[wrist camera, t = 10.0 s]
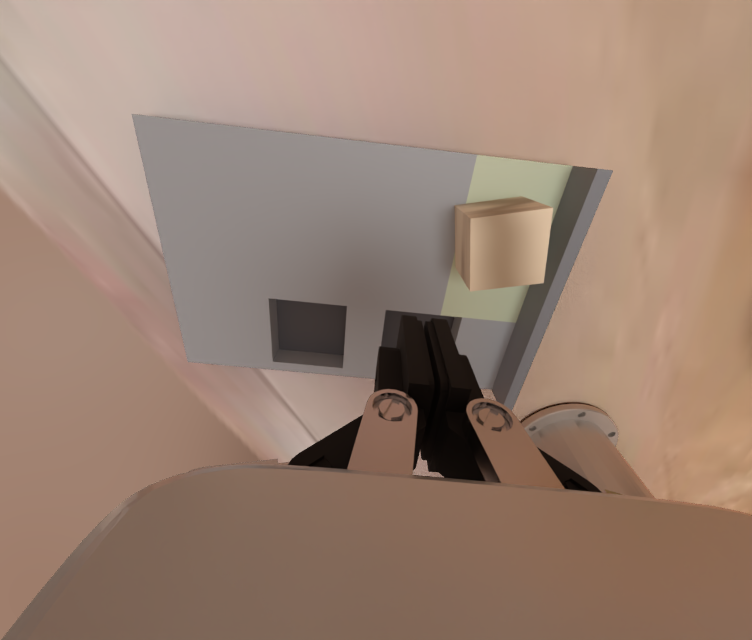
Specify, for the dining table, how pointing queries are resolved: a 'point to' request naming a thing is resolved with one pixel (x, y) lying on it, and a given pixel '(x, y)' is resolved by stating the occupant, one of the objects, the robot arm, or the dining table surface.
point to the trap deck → (345, 247)
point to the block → (502, 242)
